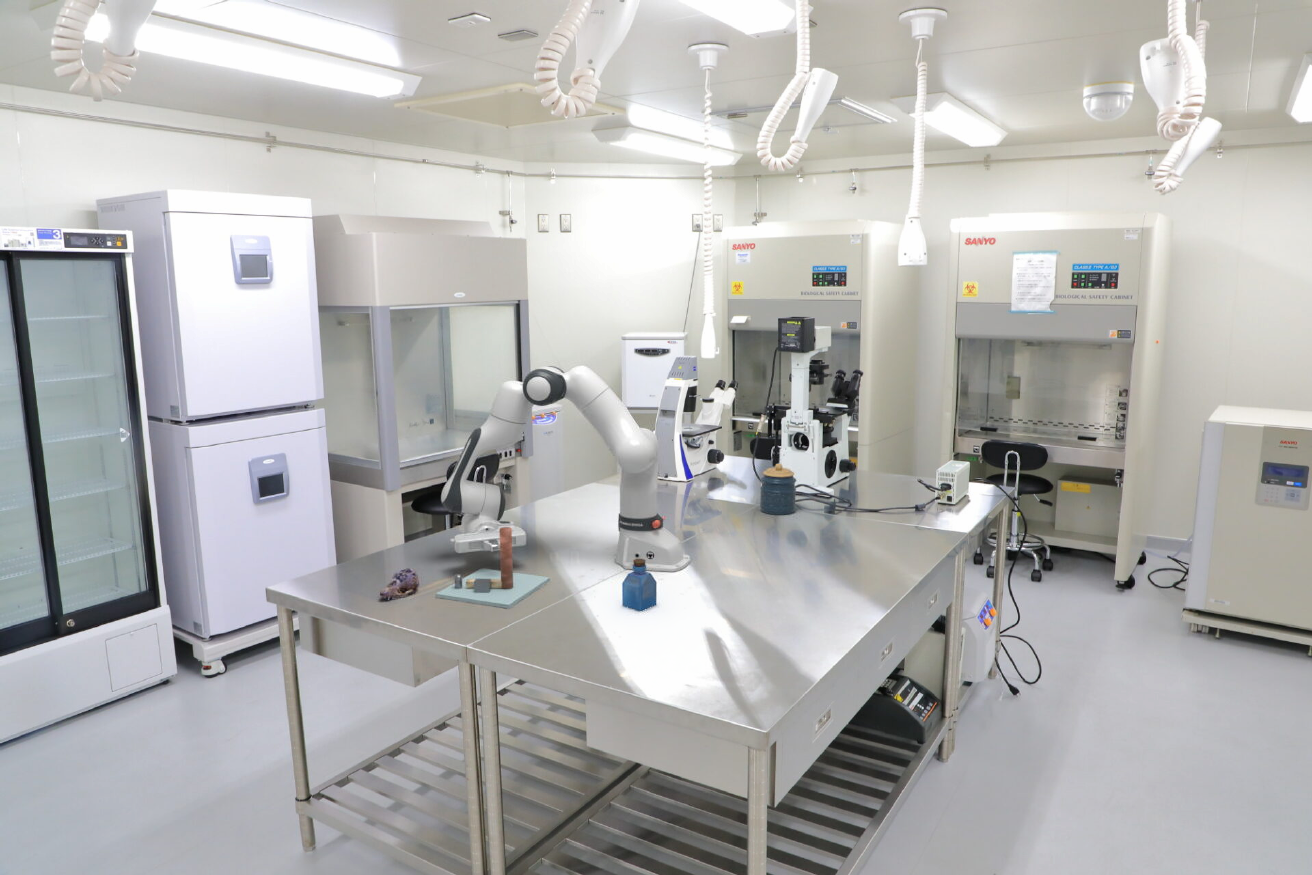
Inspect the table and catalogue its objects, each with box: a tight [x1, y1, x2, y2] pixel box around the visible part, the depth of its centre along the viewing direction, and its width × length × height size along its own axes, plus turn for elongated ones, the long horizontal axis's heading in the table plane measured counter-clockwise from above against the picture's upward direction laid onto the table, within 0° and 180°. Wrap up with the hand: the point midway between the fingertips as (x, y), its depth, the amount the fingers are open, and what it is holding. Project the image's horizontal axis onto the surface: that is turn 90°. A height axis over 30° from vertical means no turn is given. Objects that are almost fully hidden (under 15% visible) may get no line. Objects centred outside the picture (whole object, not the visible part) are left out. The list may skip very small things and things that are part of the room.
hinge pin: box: [453, 573, 463, 589], centre depth 227 cm, size 2×2×4 cm
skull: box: [379, 567, 420, 601], centre depth 225 cm, size 12×8×6 cm, turn 146°
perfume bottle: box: [621, 559, 658, 612], centre depth 217 cm, size 6×6×12 cm
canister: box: [759, 463, 797, 516], centre depth 309 cm, size 13×13×18 cm
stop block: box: [474, 579, 491, 593], centre depth 225 cm, size 4×2×3 cm, turn 89°
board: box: [435, 568, 551, 609], centre depth 230 cm, size 22×22×1 cm
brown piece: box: [466, 527, 514, 589], centre depth 226 cm, size 12×3×16 cm, turn 91°
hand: (496, 548), depth 235 cm, fingers closed
